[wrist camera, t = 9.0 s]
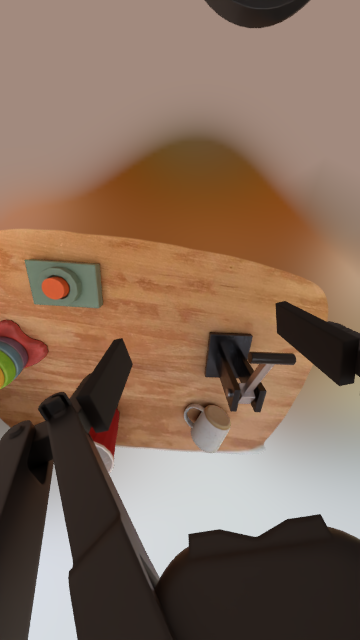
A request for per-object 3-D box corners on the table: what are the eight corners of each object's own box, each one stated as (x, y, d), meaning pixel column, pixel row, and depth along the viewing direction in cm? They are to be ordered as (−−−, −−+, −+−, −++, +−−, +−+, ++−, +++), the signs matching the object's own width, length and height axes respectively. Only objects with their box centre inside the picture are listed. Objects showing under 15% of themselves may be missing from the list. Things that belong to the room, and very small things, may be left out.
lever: (249, 346, 24) (254, 362, 22) (291, 347, 24) (299, 364, 22) (225, 389, 33) (227, 403, 32) (255, 390, 33) (259, 404, 32)
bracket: (209, 332, 40) (225, 372, 28) (250, 333, 41) (284, 374, 28) (204, 373, 44) (215, 425, 32) (241, 375, 45) (268, 427, 32)
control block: (99, 263, 35) (90, 266, 31) (103, 304, 38) (95, 311, 34) (33, 259, 34) (15, 260, 31) (42, 301, 37) (27, 307, 34)
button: (68, 277, 32) (62, 278, 30) (70, 297, 33) (65, 300, 32) (46, 275, 32) (39, 277, 30) (50, 296, 33) (43, 298, 32)
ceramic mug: (228, 407, 48) (237, 434, 41) (215, 428, 51) (220, 457, 44) (191, 395, 47) (193, 421, 40) (179, 417, 50) (178, 446, 43)
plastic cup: (89, 391, 46) (61, 438, 35) (132, 402, 47) (119, 450, 36) (83, 422, 50) (55, 473, 38) (123, 431, 51) (108, 483, 40)
